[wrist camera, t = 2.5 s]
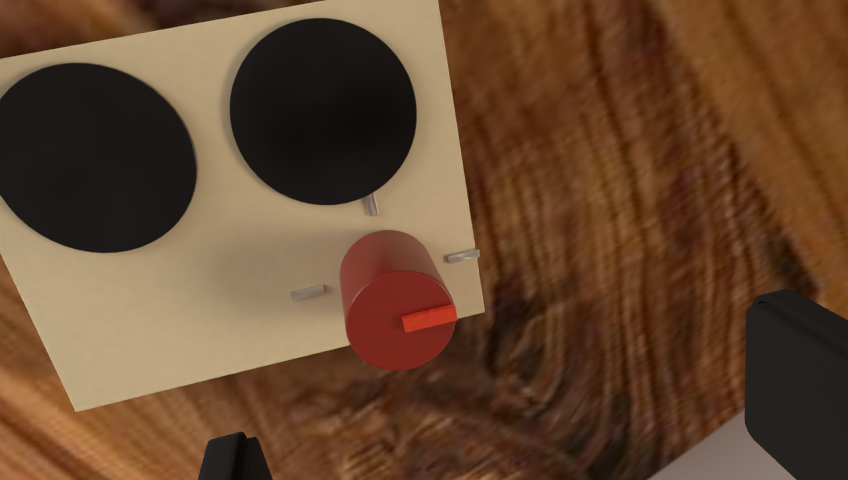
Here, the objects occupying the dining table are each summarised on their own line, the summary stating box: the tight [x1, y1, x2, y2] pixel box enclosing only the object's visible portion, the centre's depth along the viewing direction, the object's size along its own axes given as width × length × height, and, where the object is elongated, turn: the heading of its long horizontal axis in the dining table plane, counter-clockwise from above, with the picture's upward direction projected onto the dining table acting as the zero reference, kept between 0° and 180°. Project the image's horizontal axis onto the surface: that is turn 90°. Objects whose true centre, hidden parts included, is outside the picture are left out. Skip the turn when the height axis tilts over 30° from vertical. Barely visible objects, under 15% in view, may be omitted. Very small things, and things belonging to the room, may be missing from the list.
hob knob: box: [340, 230, 457, 371], centre depth 23 cm, size 4×4×5 cm
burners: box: [0, 18, 417, 253], centre depth 22 cm, size 16×7×1 cm, turn 100°
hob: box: [0, 0, 485, 412], centre depth 25 cm, size 18×15×3 cm
